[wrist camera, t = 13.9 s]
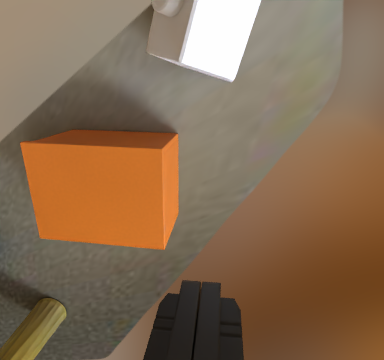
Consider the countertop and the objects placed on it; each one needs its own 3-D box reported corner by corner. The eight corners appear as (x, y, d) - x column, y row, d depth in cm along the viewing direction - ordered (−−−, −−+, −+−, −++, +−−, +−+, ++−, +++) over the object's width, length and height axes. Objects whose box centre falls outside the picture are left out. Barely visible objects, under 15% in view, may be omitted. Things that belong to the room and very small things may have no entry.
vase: (37, 315, 53) (-27, 392, 40) (38, 293, 51) (-29, 366, 38) (65, 324, 53) (11, 405, 40) (68, 302, 51) (11, 380, 38)
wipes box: (84, 206, 43) (50, 235, 35) (73, 129, 39) (32, 141, 31) (178, 213, 41) (165, 245, 33) (178, 133, 37) (163, 147, 29)
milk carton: (252, 21, 31) (282, -63, 14) (231, 82, 34) (235, 79, 16) (195, 3, 31) (152, -103, 14) (179, 65, 34) (125, 44, 16)
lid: (43, 235, 35) (39, 238, 34) (24, 140, 31) (19, 142, 30) (165, 246, 33) (164, 249, 32) (163, 147, 29) (162, 148, 28)
